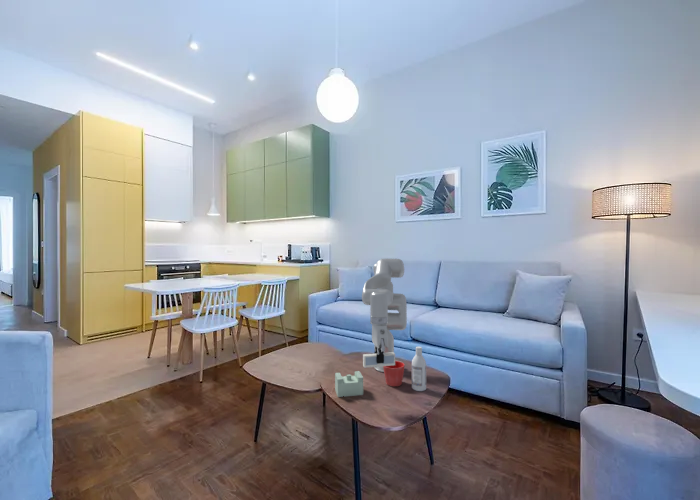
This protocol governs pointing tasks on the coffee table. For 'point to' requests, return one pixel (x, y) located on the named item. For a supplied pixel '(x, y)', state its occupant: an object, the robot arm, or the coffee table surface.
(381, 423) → the coffee table surface
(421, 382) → the bath foam
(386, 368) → the flower pot
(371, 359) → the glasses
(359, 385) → the notched toy brick
